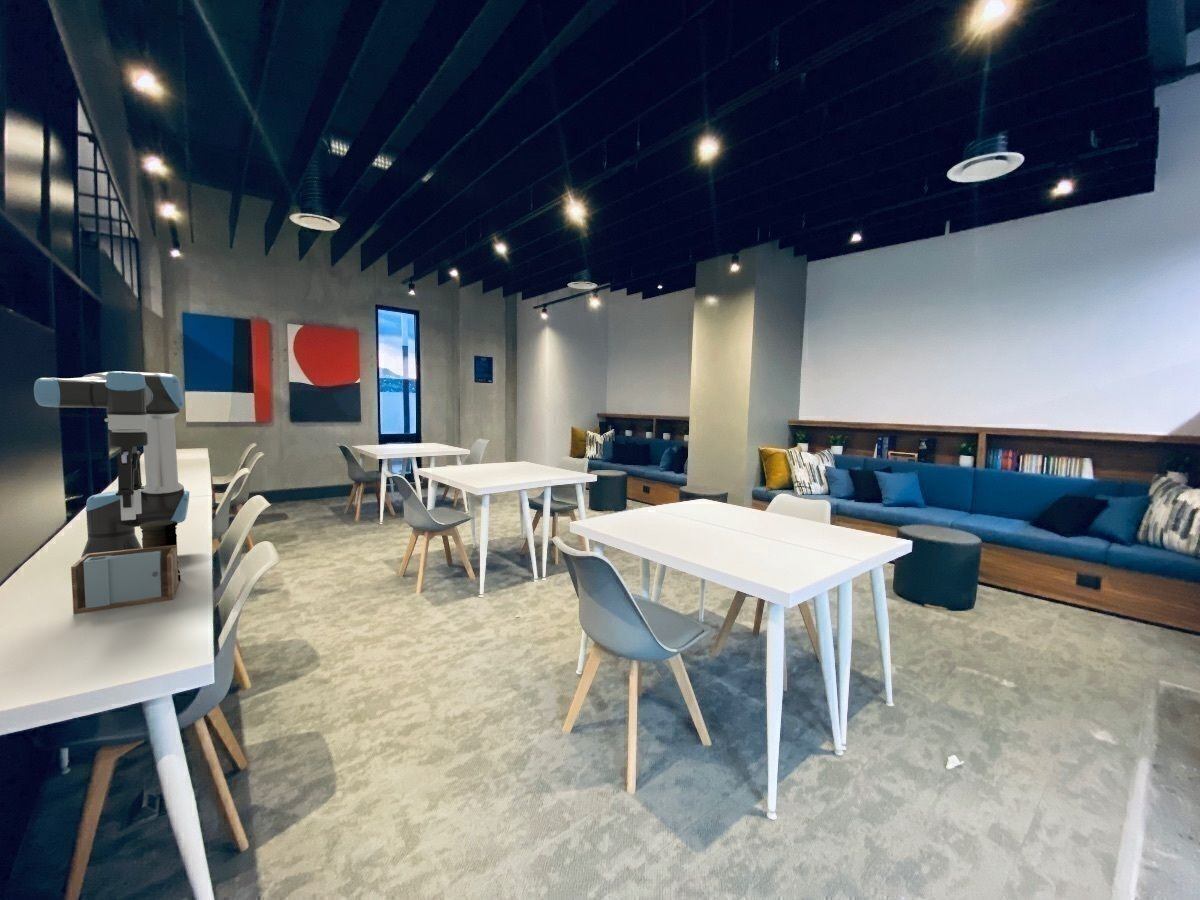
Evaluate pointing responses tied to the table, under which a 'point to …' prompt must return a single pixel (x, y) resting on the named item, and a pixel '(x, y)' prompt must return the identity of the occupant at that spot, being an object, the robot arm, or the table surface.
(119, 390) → the robot arm
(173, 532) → the container
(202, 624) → the table surface
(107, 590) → the door
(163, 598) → the cabinet
